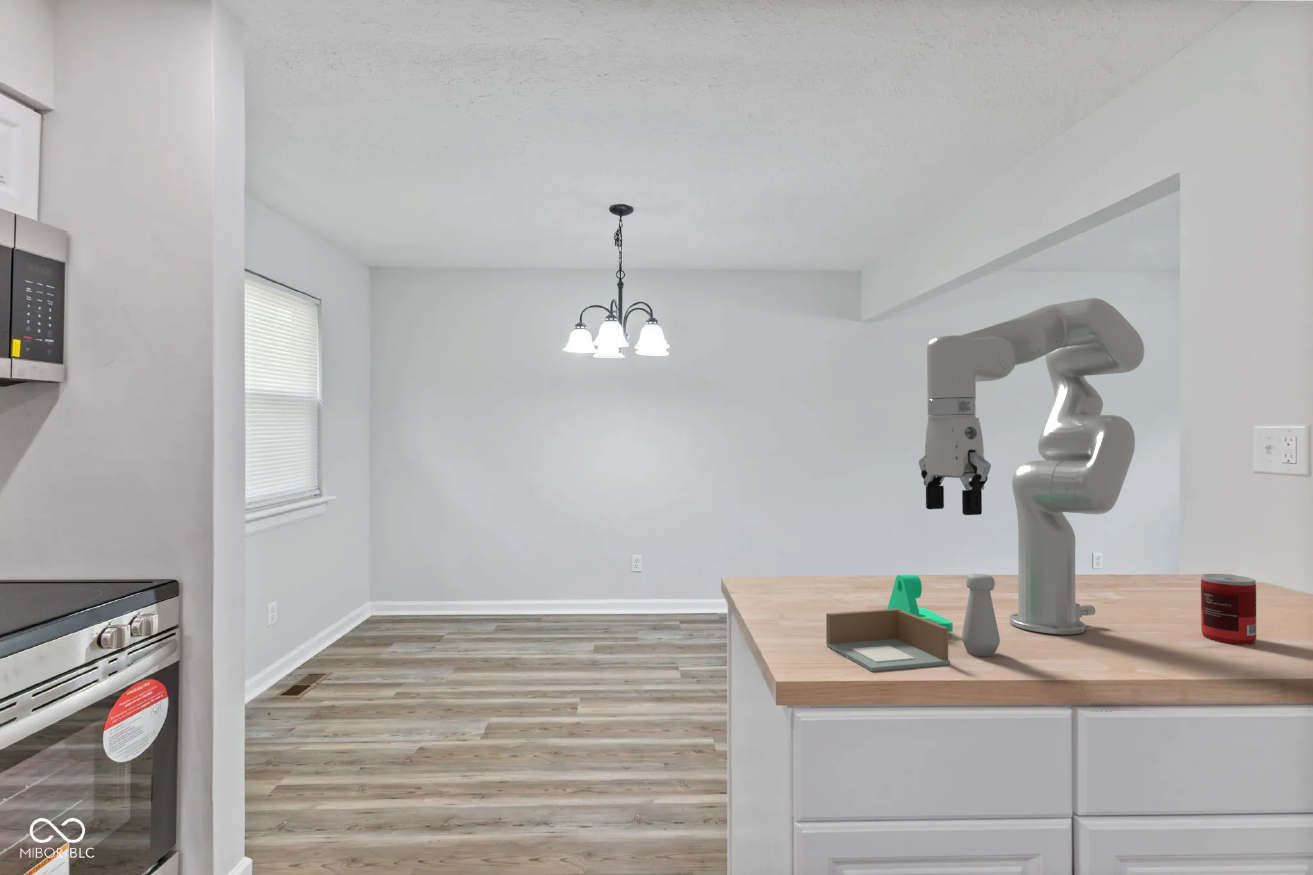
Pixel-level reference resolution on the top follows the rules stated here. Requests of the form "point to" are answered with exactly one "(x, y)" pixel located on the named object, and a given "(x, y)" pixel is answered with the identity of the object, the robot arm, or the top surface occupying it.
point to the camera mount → (913, 600)
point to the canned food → (1228, 608)
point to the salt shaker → (980, 617)
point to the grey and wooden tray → (887, 639)
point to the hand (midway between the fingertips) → (952, 511)
